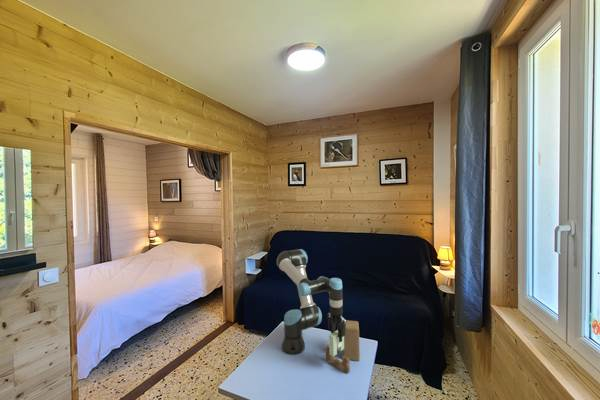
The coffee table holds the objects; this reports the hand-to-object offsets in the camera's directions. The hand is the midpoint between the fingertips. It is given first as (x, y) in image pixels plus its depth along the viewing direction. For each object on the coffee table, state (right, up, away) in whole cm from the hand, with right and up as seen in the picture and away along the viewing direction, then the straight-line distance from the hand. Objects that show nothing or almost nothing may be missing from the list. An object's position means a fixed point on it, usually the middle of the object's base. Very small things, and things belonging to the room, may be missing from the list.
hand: (336, 345), depth 145 cm
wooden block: (+10, -12, +10) cm, 19 cm away
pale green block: (0, -4, 0) cm, 4 cm away
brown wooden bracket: (0, -12, 0) cm, 12 cm away
